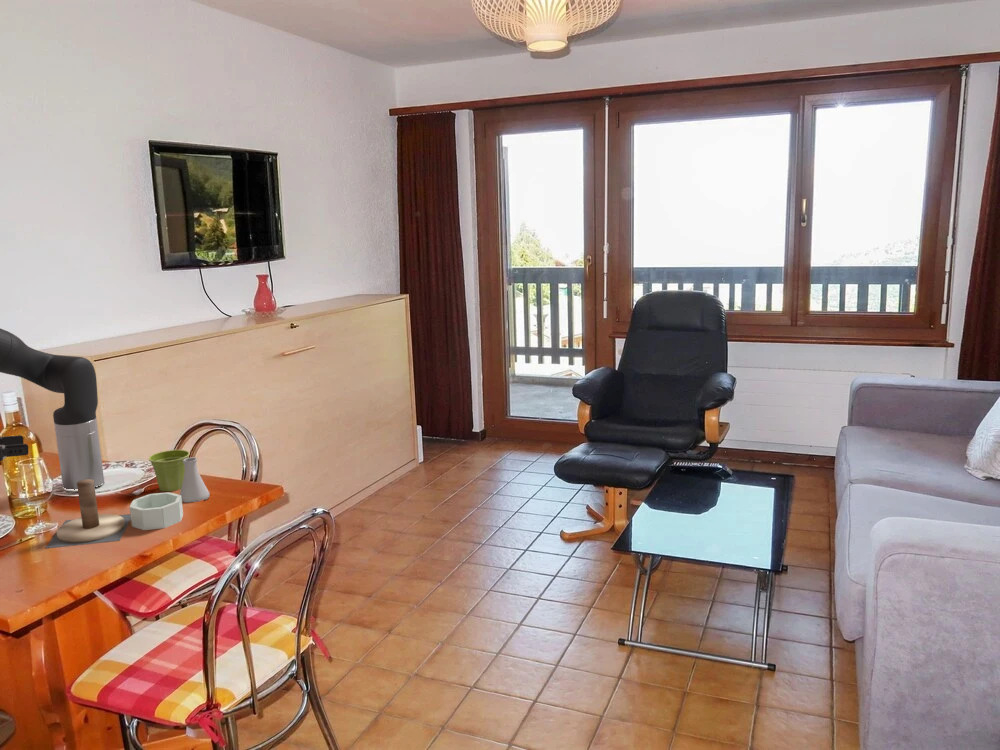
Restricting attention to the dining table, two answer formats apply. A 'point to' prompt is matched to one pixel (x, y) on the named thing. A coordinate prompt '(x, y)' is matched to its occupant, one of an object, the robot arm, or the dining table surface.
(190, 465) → the flask
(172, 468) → the plant pot
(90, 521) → the lid
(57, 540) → the mat
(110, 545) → the dining table surface
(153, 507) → the bowl
